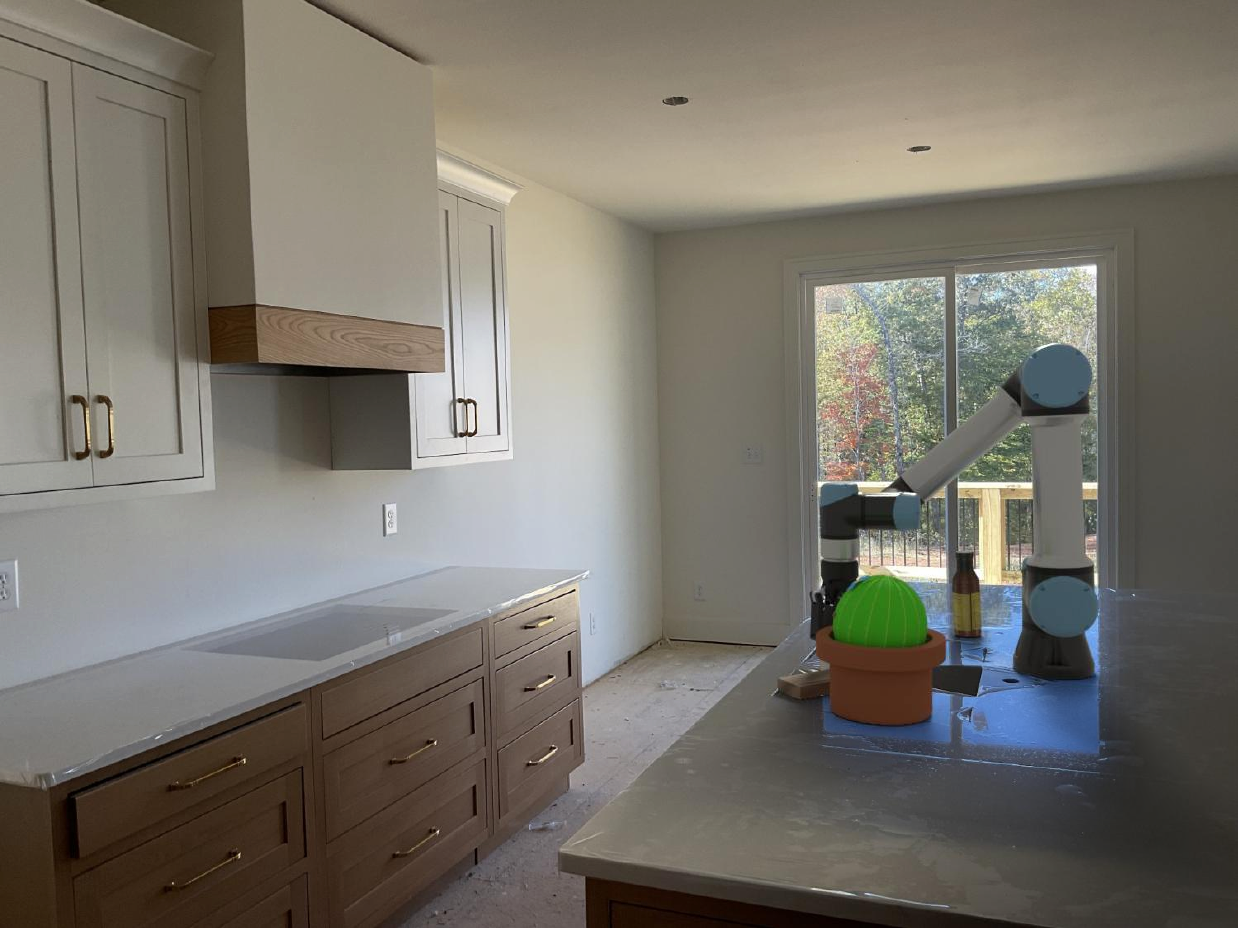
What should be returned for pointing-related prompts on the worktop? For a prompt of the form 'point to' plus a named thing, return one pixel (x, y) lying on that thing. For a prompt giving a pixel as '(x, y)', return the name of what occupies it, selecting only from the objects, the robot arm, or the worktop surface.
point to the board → (806, 684)
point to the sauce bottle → (966, 597)
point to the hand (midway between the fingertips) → (840, 672)
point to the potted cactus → (881, 653)
